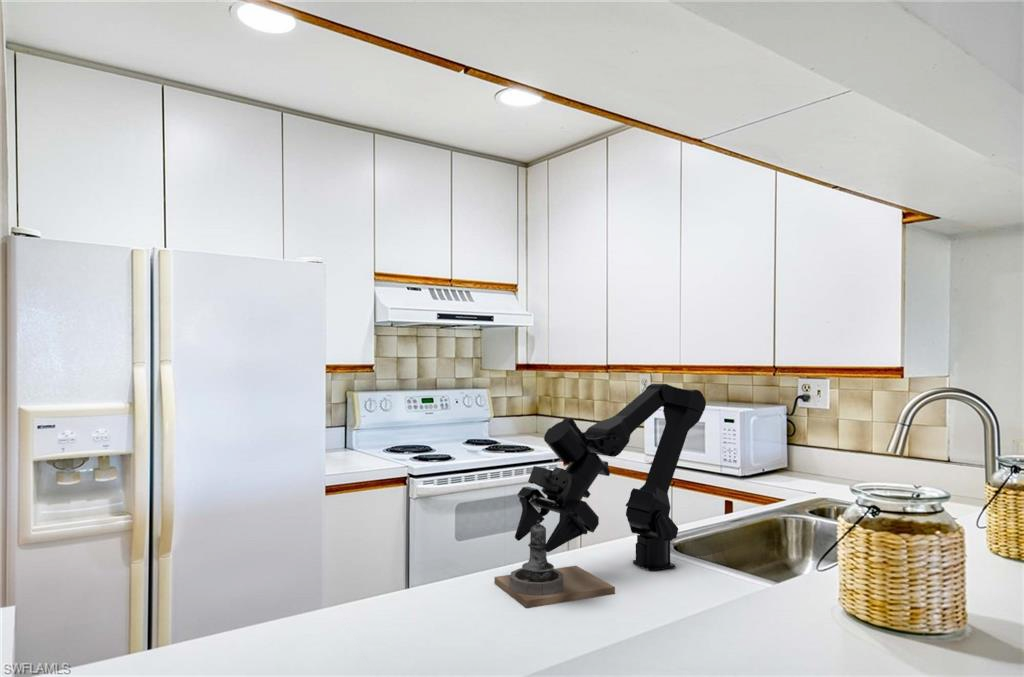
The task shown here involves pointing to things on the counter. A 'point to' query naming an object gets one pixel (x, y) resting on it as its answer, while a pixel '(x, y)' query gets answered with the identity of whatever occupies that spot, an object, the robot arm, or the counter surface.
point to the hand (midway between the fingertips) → (530, 544)
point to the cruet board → (554, 586)
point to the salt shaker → (537, 556)
